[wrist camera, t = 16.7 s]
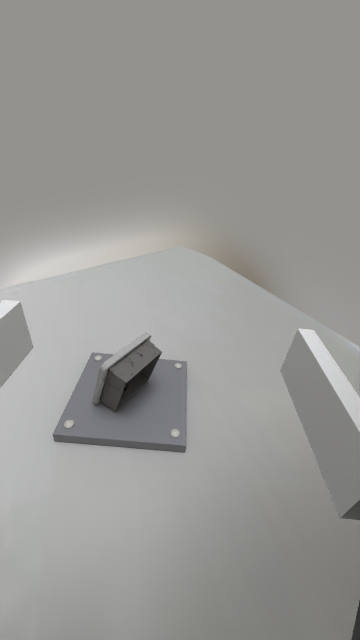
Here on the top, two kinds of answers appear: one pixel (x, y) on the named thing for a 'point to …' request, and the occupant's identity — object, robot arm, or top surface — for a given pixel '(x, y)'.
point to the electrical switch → (126, 372)
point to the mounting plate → (129, 411)
